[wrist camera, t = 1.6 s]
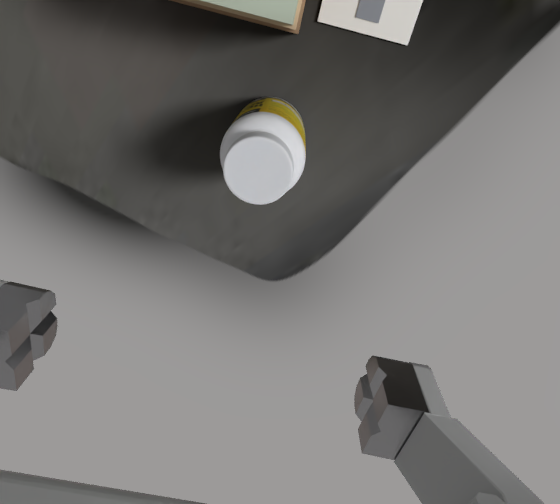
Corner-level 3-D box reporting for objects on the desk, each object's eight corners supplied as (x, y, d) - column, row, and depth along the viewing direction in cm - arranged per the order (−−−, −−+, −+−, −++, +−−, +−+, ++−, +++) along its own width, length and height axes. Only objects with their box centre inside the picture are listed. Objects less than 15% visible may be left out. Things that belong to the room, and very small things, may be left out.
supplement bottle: (263, 79, 29) (248, 100, 20) (319, 127, 30) (327, 166, 22) (221, 137, 31) (192, 179, 22) (275, 179, 32) (267, 233, 24)
